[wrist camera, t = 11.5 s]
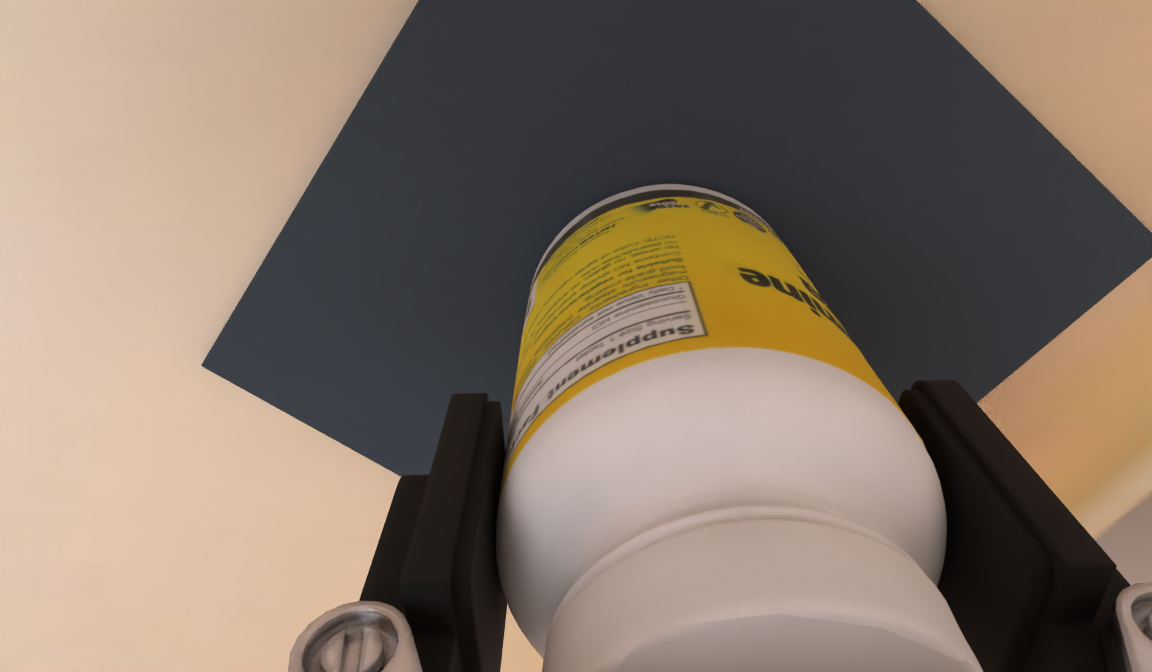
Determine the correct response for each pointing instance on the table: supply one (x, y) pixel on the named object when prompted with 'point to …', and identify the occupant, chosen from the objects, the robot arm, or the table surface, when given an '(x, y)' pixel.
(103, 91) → the table surface
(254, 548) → the table surface
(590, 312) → the pill bottle
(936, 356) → the mat
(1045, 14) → the table surface
